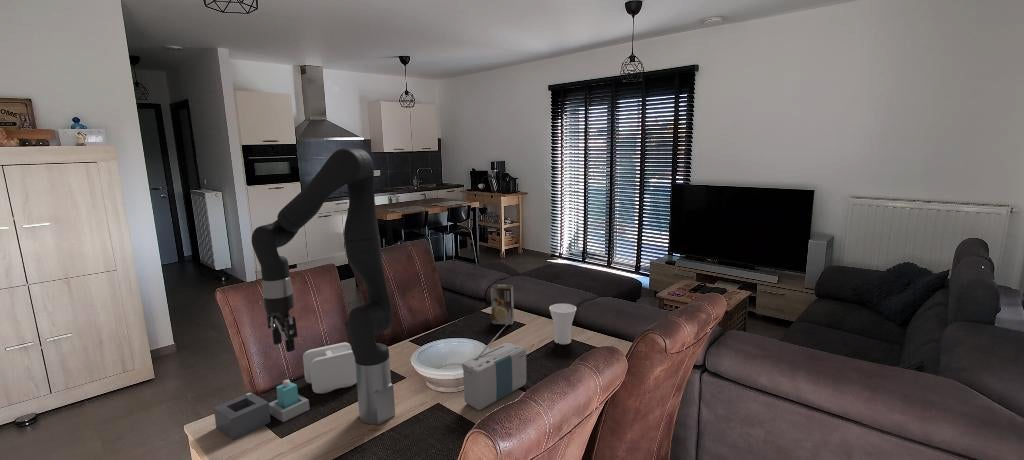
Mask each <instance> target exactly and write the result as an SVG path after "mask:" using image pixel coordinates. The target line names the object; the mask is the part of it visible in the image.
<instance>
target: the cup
mask: <svg viewBox="0 0 1024 460" xmlns="http://www.w3.org/2000/svg"><path fill="white" fill-rule="evenodd" d="M548 309H549V312H550V314H551V318H552V321H553V327H554V340H553V341H554V343H556V344H558V343H559V344H558V345H568V344H569V345H570V343H572V335H571V333H572V324H573V321H574V318H575V315H576V311H577V306H575V305H573V304H571V303H555V304H552V305H550V306H549V308H548Z"/></svg>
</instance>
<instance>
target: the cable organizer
mask: <svg viewBox="0 0 1024 460" xmlns="http://www.w3.org/2000/svg"><path fill="white" fill-rule="evenodd" d="M302 363H303V371H304V379H305V381H306V383H308V384H311V388H312V391H313V392H314V393H315V394H327V393H330V392H332V391H334V390H337V389H341V388H342V389H345V388H348V387H353V385H355V384H357V380H356V367H355V357H354V354H353V352H352V348H351V343H348V342H340V343H339V342H338V343H336V344H329V345H326V346H322V347H317V348H312V349H308V350H307V351H305V352H304V353H303V354H302Z"/></svg>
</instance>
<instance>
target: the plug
mask: <svg viewBox="0 0 1024 460" xmlns="http://www.w3.org/2000/svg"><path fill="white" fill-rule="evenodd" d="M275 389H276V398H277V399H278V406H280V407H281V408H283V409H285V408H288V407H290V406H292V405H294V404H296V403H298V402H299V400H298V395H299V392H298V385H297V384H296V383H294V382H291V380H290V379H284V380H283V381H282V384H279V385H277V386H276V388H275Z"/></svg>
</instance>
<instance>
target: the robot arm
mask: <svg viewBox="0 0 1024 460" xmlns="http://www.w3.org/2000/svg"><path fill="white" fill-rule="evenodd" d="M346 185H347V186H346ZM344 186H346V187H347V193H348V209H347V214H346V219H345V221H344V223H345V224H344V227H343V240H344V249H345V254H346V258H347V261H348V263H349V264H350V266H351V267H352V268H353V270H354V271H355V272H356V273H357V275H358V276H359V277H360V279H361V280H362V281H363V283H364V287H365V290H366V291H365V292H366V294H367V295H366V296H367V302H366V303H363V304H360V305H358V306H356V307H353V308H352V309H351V310H350V311H349V313H348V318H347V325H348V333H349V339H350V342H349V343H350V346H351V351H352V352H353V354H354V357H355V367H356V380H357V383H356V389H357V402H358V403H357V404H358V414H359V420H360V421H361V422H362V423H364V424H369V425H377V426H380V425H381V424H383V423H385V422H386V421H388V420H390V419H391V418H393V417H395V416H396V408H395V407H396V405H395V393H394V392H395V391H394V390H395V389H394V384H393V383H392V379H391V361H390V349H389V347H388V345H386V344H384V343H380V342H376V336H378V335H380V334H381V333H384V332H385V331H387V330H389V329H390V328H391V327H392V325H393V321H394V320H393V319H394V316H393V315H394V314H393V308H392V304H391V299H390V295H389V294H390V293H389V289H388V286H387V282H386V277H385V270H384V263H383V255H382V244H381V243H382V242H381V237H380V236H381V235H380V232H379V230H380V229H379V225H378V215H377V214H378V213H377V207H376V199H375V171H374V163H373V159H372V157H371V156H370V155H369V153H368V152H367V151H365V150H364V149H361V148H353V147H352V148H349V147H345V148H343V147H342V148H339V149H337V150H335V151H334V152H333V153H332V154H331V155H330V156H329V158H328V159H327V160H326V161H325V163H323V165H322V166H321V167H320V169H319V171H318V172H317V173H316V174H315V175H314V177H313V178H311V180H310V181H309V182H308V184H307V185H306V186H304V188H303V189H302V190H301V191H300V192H299V193H298V194H296V196H295V197H293V199H291V200H290V201H289V202H288V203H287V204H285V206H284V207H282V208H281V210H280V211H279V212H278V214H277V219H276V220H275V221H273V222H272V223H268V224H264V225H260V226H258V227H256V228H255V229H254V230H253V232H252V234H251V246H252V249H253V251H254V254H255V255H256V256H255V257H256V259H257V261H258V263H259V266H260V273H261V279H262V280H261V282H262V286H261V287H262V289H261V290H262V296H263V297H262V298H263V305H264V311H265V312H266V322H267V328H268V329H269V330H270V332H271V334H272V335H271V336H272V342H273V343H272V344H274V345H275V346H276V345H280V344H282V343H283V338H284V343H285V344H284V346H285V352H287V353H291V352H293V351H295V350H296V348H295V338H298V337H299V336H298V329H297V322H296V317H295V316H291V315H290V311H291V310H292V309H294V306H295V301H294V293H293V284H292V280H291V276H290V275H291V274H290V265H289V260H288V258H287V257H286V256H283V255H280V254H279V252H278V248H281V247H284V246H286V245H287V244H289V242H291V241H292V240H293V238H294V237H295V236H296V234H297V233H298V232H299V231H300V229H302V228H303V227H304V226H305V225H306V224H308V223H309V222H310V220H312V219H313V218H314V217H315V216H316V215H317V214H318V213H319V211H320V210H321V208H322V207H323V205H324V203H325V202H326V200H328V198H329V197H330V196H331V195H333V193H335V192H337V191H338V190H339V189H340V188H342V187H344ZM282 335H283V337H282Z"/></svg>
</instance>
